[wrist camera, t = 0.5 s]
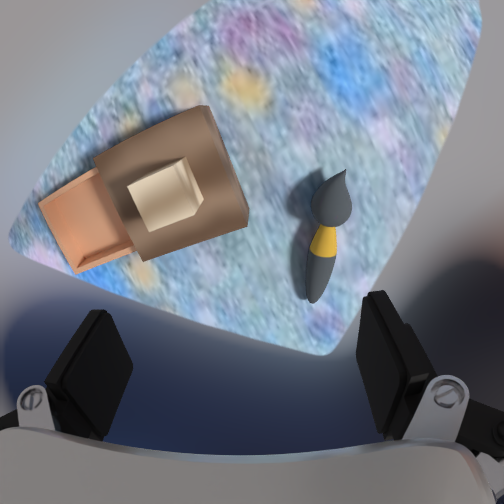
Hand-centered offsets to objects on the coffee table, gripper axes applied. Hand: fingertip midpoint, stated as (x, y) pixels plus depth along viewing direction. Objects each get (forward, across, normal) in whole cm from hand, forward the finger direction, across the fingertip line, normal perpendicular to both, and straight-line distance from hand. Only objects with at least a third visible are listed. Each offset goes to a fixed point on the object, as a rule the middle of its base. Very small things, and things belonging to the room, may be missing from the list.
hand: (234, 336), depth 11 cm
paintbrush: (+30, -9, +10) cm, 32 cm away
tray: (+29, +22, +3) cm, 37 cm away
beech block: (+21, +8, -1) cm, 22 cm away
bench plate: (+29, +9, 0) cm, 31 cm away
